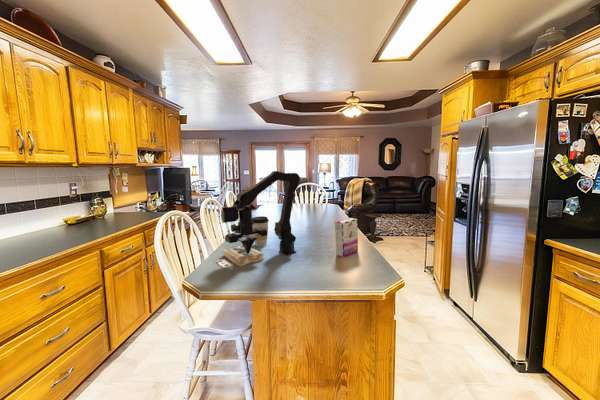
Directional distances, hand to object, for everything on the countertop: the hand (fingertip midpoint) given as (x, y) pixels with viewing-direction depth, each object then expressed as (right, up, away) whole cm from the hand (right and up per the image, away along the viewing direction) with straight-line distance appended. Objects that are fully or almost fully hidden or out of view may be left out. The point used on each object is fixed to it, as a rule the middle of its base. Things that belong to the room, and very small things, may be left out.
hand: (247, 253), depth 124 cm
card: (-10, -4, -2) cm, 11 cm away
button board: (-3, -3, +5) cm, 7 cm away
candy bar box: (+46, -2, +6) cm, 47 cm away
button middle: (-3, -1, +4) cm, 6 cm away
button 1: (-7, -2, +9) cm, 11 cm away
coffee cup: (+2, 0, +25) cm, 25 cm away
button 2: (0, -2, 0) cm, 2 cm away
